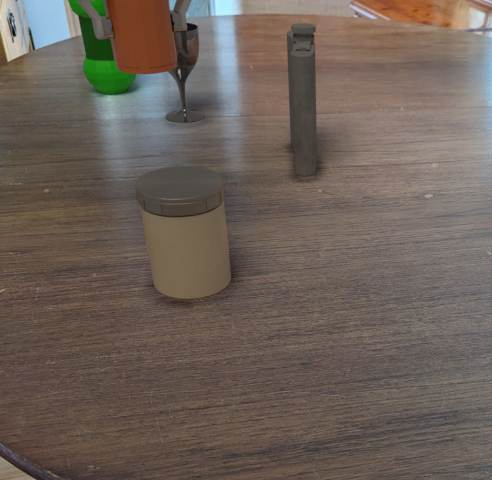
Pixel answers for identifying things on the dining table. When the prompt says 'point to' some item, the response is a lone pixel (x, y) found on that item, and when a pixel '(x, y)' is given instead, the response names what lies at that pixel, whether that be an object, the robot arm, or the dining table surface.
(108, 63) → the plastic bottle
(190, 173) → the jar lid
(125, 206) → the dining table surface
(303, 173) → the hip flask
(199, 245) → the jar
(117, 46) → the cup
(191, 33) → the wine glass
